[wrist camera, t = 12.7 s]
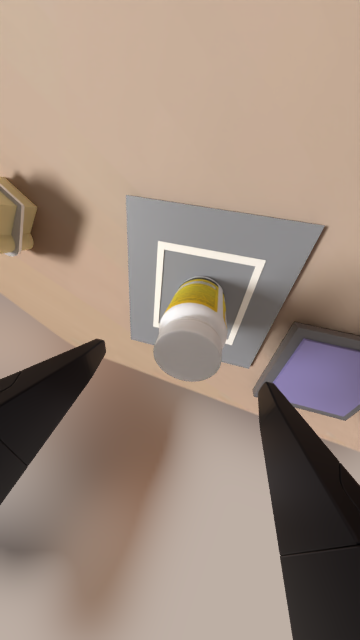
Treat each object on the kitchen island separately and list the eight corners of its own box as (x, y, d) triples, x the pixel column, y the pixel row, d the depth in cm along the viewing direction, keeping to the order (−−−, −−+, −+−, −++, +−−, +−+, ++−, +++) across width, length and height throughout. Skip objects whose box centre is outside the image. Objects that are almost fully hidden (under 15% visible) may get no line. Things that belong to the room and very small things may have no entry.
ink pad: (419, 348, 15) (435, 359, 14) (340, 412, 21) (346, 423, 20) (294, 321, 16) (299, 329, 15) (252, 389, 22) (254, 398, 21)
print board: (320, 225, 12) (325, 225, 12) (248, 365, 20) (248, 369, 20) (128, 195, 14) (125, 194, 13) (132, 336, 22) (130, 339, 21)
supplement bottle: (168, 292, 17) (130, 345, 10) (206, 264, 15) (194, 306, 8) (195, 326, 18) (179, 393, 11) (234, 305, 16) (245, 372, 9)
